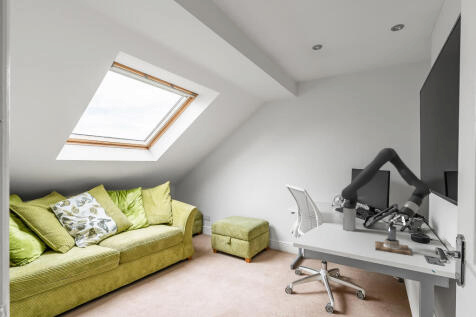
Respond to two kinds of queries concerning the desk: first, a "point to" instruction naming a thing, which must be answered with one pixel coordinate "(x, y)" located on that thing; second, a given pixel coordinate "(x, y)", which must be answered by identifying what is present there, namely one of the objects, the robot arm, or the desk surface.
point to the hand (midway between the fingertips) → (394, 229)
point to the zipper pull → (416, 227)
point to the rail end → (391, 233)
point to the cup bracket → (392, 247)
